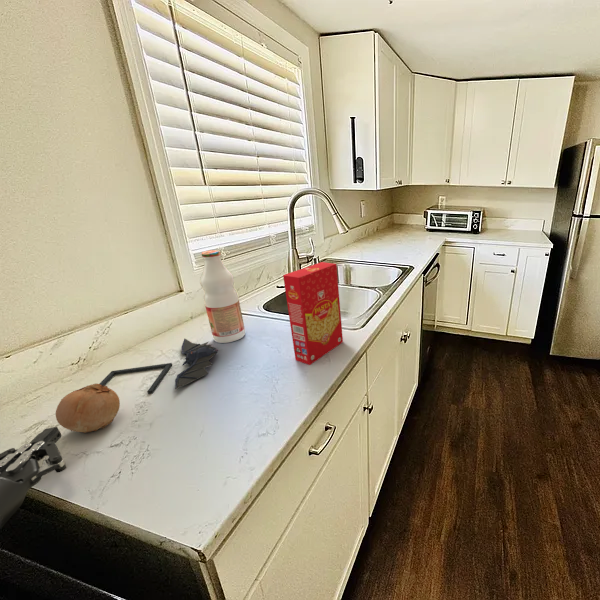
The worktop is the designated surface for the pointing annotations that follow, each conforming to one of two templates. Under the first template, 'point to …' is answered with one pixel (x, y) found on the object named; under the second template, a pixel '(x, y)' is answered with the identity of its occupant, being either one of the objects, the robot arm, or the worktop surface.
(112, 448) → the worktop surface
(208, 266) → the fruit juice
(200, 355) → the decorative bat
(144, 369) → the frame
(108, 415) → the onion
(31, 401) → the worktop surface
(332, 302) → the food packaging
